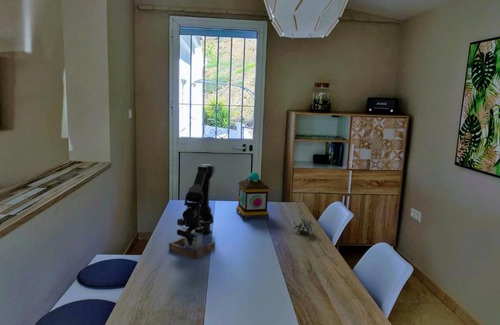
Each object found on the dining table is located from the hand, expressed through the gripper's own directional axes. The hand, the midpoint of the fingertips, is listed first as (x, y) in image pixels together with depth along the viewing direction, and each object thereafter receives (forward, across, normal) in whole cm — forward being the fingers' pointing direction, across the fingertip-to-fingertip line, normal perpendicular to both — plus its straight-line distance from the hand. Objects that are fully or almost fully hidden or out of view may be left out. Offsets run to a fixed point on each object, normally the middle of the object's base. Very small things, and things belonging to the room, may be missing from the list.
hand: (193, 244), depth 184 cm
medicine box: (+3, 0, 0) cm, 3 cm away
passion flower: (+3, -57, +35) cm, 67 cm away
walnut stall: (+2, 0, 0) cm, 2 cm away
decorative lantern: (+3, -64, -5) cm, 64 cm away
